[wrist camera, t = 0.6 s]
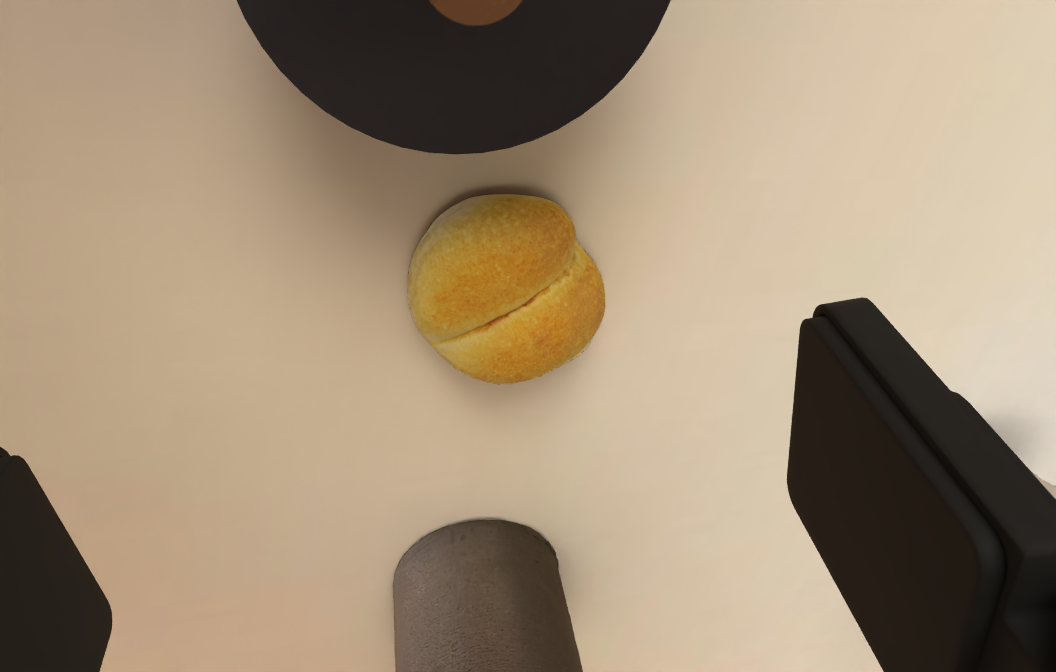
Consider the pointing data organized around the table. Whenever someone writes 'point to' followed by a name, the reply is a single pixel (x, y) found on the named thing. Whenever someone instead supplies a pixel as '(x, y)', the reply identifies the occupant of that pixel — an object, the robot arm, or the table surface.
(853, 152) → the table surface
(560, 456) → the table surface
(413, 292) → the bread roll
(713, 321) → the table surface
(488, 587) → the pillar candle
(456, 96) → the pan lid
